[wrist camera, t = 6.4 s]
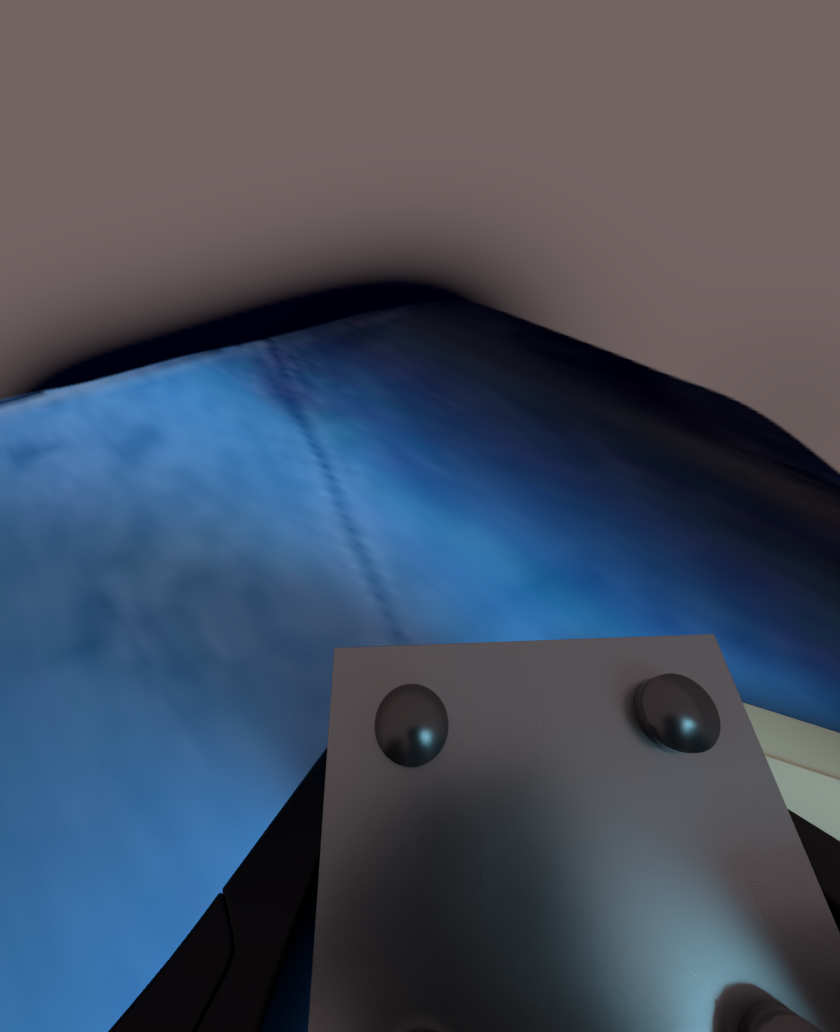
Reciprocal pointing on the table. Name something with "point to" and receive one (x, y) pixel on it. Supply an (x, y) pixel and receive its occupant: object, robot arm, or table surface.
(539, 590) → the table surface
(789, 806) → the stand
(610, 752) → the plate
